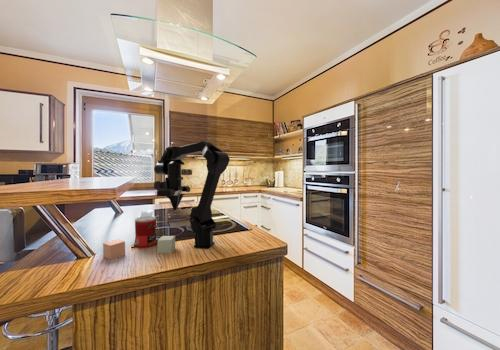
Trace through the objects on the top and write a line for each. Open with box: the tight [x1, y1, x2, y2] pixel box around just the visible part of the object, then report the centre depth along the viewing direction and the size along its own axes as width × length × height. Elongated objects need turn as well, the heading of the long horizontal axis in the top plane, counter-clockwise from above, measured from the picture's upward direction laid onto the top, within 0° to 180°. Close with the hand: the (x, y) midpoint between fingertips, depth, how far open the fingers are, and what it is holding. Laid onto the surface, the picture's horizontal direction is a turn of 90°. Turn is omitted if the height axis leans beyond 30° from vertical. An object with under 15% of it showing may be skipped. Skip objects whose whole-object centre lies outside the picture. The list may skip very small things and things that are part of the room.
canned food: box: [134, 215, 157, 249], centre depth 90 cm, size 8×8×11 cm
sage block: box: [157, 235, 176, 254], centre depth 83 cm, size 5×5×5 cm
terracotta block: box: [102, 238, 126, 261], centre depth 79 cm, size 5×5×5 cm
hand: (175, 209), depth 97 cm, fingers closed
